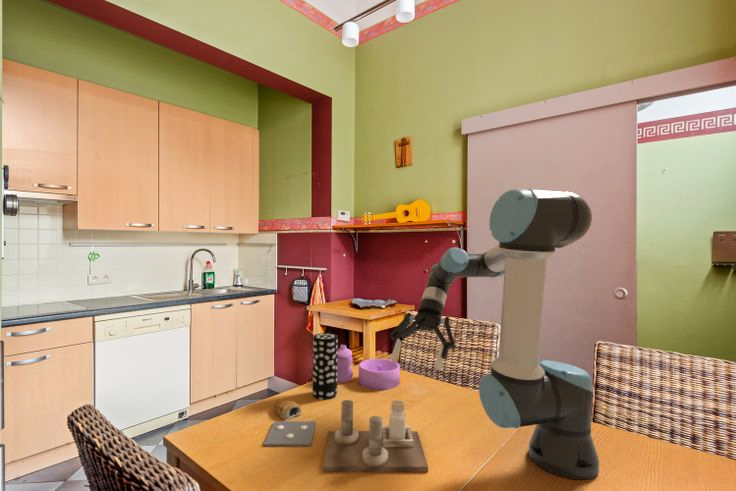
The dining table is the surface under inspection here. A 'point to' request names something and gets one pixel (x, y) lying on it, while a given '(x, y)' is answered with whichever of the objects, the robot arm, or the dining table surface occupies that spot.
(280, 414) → the pastry
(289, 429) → the tile
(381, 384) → the container set
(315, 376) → the spotted tube
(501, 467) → the dining table surface
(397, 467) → the pin board
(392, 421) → the pepper shaker
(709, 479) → the dining table surface
